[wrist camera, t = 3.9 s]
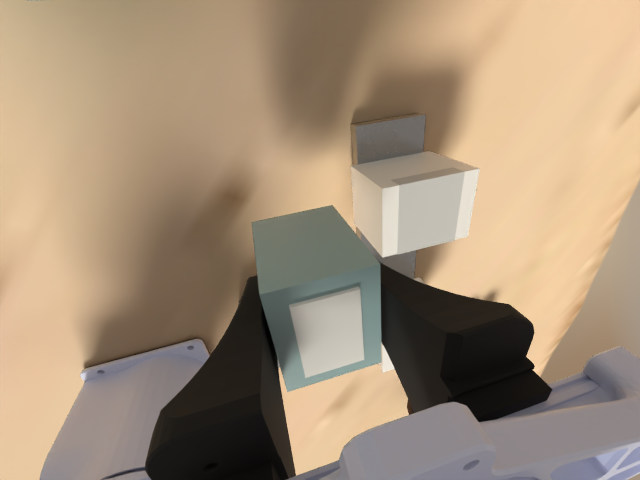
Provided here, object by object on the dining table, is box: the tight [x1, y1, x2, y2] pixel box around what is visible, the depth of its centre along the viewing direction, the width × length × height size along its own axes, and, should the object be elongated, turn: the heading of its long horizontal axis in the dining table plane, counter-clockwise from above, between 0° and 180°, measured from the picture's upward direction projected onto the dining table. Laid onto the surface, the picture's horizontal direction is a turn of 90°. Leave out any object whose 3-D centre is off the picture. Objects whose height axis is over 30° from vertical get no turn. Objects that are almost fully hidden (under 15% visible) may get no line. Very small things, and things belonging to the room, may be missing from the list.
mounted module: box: [351, 151, 479, 258], centre depth 19 cm, size 6×4×5 cm
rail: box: [351, 113, 426, 279], centre depth 25 cm, size 5×22×1 cm, turn 7°
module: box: [252, 205, 382, 392], centre depth 13 cm, size 4×5×6 cm
